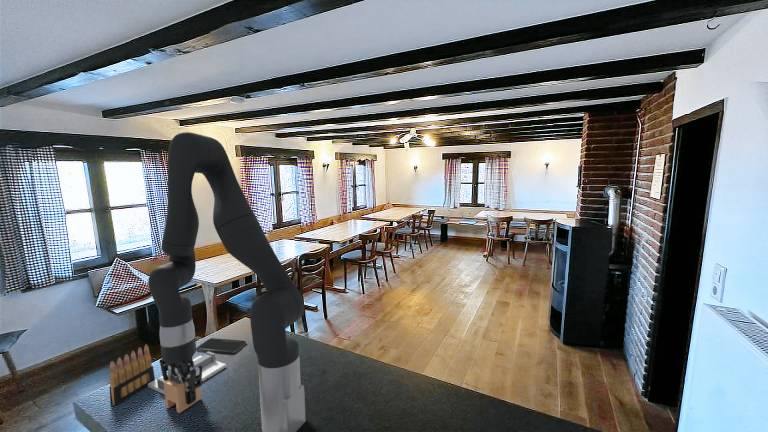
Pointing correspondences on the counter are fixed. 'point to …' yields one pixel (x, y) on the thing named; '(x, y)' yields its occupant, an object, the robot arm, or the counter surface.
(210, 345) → the phone
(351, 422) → the counter surface
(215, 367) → the rail board
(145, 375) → the ammunition clip
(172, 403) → the block
